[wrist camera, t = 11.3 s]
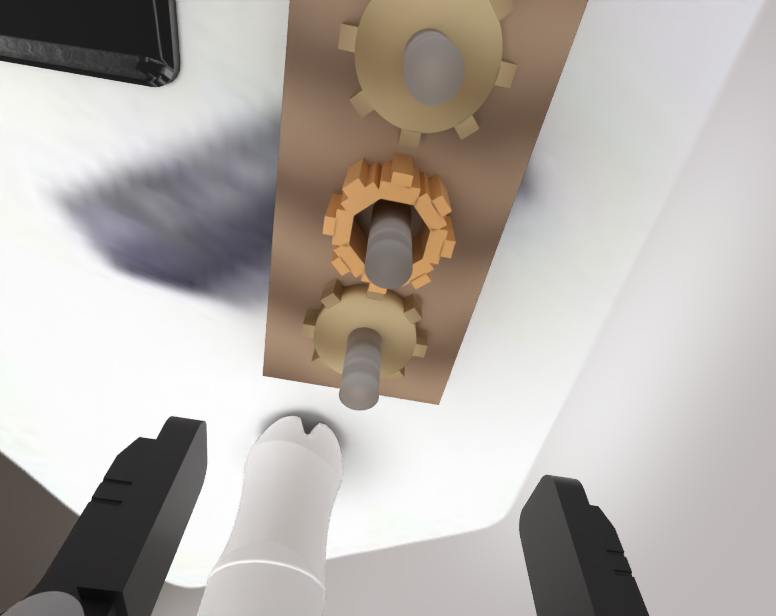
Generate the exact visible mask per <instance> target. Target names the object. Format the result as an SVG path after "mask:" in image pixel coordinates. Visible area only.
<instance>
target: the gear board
mask: <svg viewBox="0 0 776 616" xmlns="http://www.w3.org/2000/svg"><path fill="white" fill-rule="evenodd" d="M587 2H588V0H290V5H289V18H288V32H287V46H286V60H285V74H284V88H283V102H282V116H281V130H280V143H279V157H278V171H277V185H276V199H275V213H274V227H273V241H272V255H271V268H270V282H269V296H268V310H267V324H266V338H265V352H264V366H263V376H267V377H273V378H280V379H286V380H292V381H298V382H304V383H310V384H316V385H322V386H328V387H334V388H340V391H339V398H340V401H341V402H342V403H343V404H344V405H345V406H346V407H348V408H350V409H353V410H366V409H369V408H372V407H373V406H374V405H375V404H376V403H377V402H378V399H379V395H382V396H388V397H394V398H400V399H406V400H412V401H418V402H424V403H431V404H437V405H439V403H440V400H441V397H442V395H443V392H444V389H445V386H446V384H447V381H448V378H449V376H450V373H451V370H452V368H453V365H454V362H455V359H456V357H457V354H458V351H459V349H460V346H461V343H462V341H463V338H464V335H465V332H466V330H467V327H468V324H469V322H470V319H471V316H472V313H473V311H474V308H475V305H476V303H477V300H478V297H479V295H480V292H481V289H482V286H483V284H484V281H485V278H486V276H487V273H488V270H489V268H490V265H491V262H492V259H493V257H494V254H495V251H496V249H497V246H498V243H499V240H500V238H501V235H502V232H503V230H504V227H505V224H506V222H507V219H508V216H509V213H510V211H511V208H512V205H513V203H514V200H515V197H516V194H517V192H518V189H519V186H520V184H521V181H522V178H523V176H524V173H525V170H526V167H527V165H528V162H529V159H530V157H531V154H532V151H533V149H534V146H535V143H536V140H537V138H538V135H539V132H540V130H541V127H542V124H543V121H544V119H545V116H546V113H547V111H548V108H549V105H550V103H551V100H552V97H553V94H554V92H555V89H556V86H557V84H558V81H559V78H560V76H561V73H562V70H563V67H564V65H565V62H566V59H567V57H568V54H569V51H570V48H571V46H572V43H573V40H574V38H575V35H576V32H577V30H578V27H579V24H580V21H581V19H582V16H583V13H584V11H585V8H586V5H587ZM394 152H397V153H401V154H406V155H411V156H412V159H413V167H418V168H419V174H421V173H423V172H425V173H426V175H427V177H428V178H429V179H430V178H431V177H433V176H434V175H436V174H438V175H439V177H440V178H441V180H442V181H443V183H444V185H445V186H446V188H447V192H448V196H449V201H450V205H451V210H452V211H451V212H450V213H448V214H446V216H450V217H451V222H452V226H453V231H454V236H455V240H456V243H455V246H454V249H453V252H452V256H451V258H446V257H441V256H440V260H439V263H438V264H433V265H434V270H432V271H430V273H431V282H429V283H427V284H425V285H423V286H422V287H420V288H418V289H415V288H414V286H413V285H412V284H411V282H410V283H408V284H407V285H405V286H402V285H404V284H405V283H406V282H407V281H408V280H409V279H410V277H411V275H412V271H413V263H412V237H414V236H415V235H417V234H419V233H420V232H421V230H422V226H423V222H424V220H423V219H422V217H421V216H420V214H419V213H418V211H417V210H416V208H415V207H414V205H410V204H405V203H400V202H395V201H390V200H385V199H379V200H378V201H376V202H375V203H373V204H371V205H370V206H368V207H367V208H365V209H364V210H362V211H360V212H359V213H357V214H356V215H355V218H354V220H355V221H356V222H357V224H358V225H359V226H360V228H361V229H362V230H363V232H364V233H365V234H366V236H367V237H368V245H367V253H366V260H365V273H366V276H367V278H368V279H369V280H370V282H371V283H373V284H374V285H376V286H378V287H380V288H384V289H387V291H386V294H382V293H377V292H371V291H368V289H369V282H364V281H361V278H362V274H361V275H359V276H358V277H356V278H355V276H354V275H353V274H352V273H351V272H350V271H349V272H348V273H346V274H344V275H343V276H342V275H341V274H340V273H339V272H338V270H337V269H336V268H335V267H334V265H333V264H332V263H331V260H332V256H333V253H334V247H335V245H333V244H332V239H333V236H331V235H326V234H322V233H323V226H324V218H325V214H326V211H327V208H328V205H329V202H330V199H331V197H332V194H333V193H336V194H342V191H343V190H342V187H343V184H344V181H345V177H346V174H347V171H348V168H349V167H351V166H352V165H354V164H355V163H357V162H358V161H359V160H361V159H362V158H364V160H365V161H366V163H367V164H368V166H371V165H372V164H374V163H375V162H377V163H378V164H379V166H380V167H381V168H382V163H383V160H384V161H389V162H392V160H393V155H394Z"/></svg>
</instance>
